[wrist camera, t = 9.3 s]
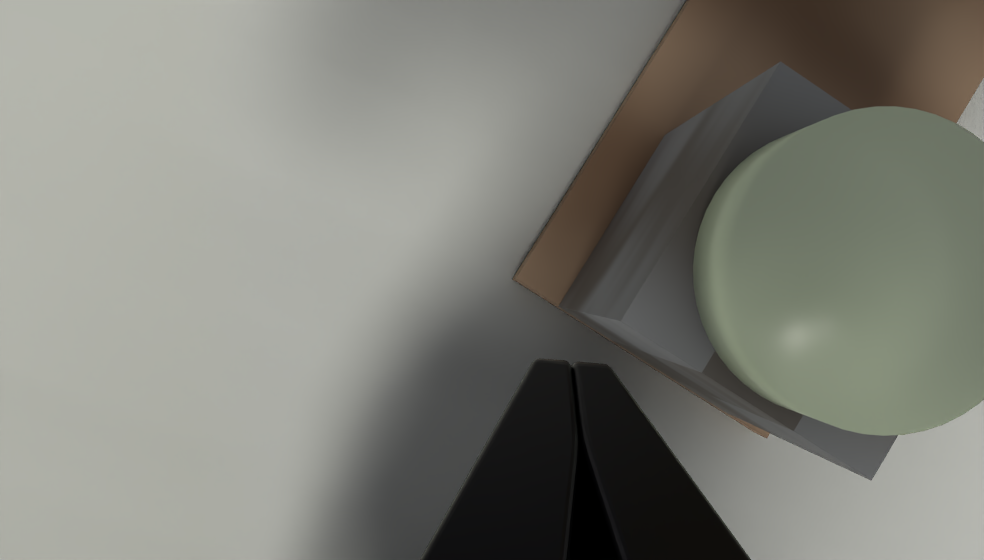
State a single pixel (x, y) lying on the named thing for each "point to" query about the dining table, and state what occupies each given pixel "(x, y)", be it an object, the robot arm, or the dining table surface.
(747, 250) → the sage button
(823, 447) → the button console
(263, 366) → the dining table surface
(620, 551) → the robot arm
